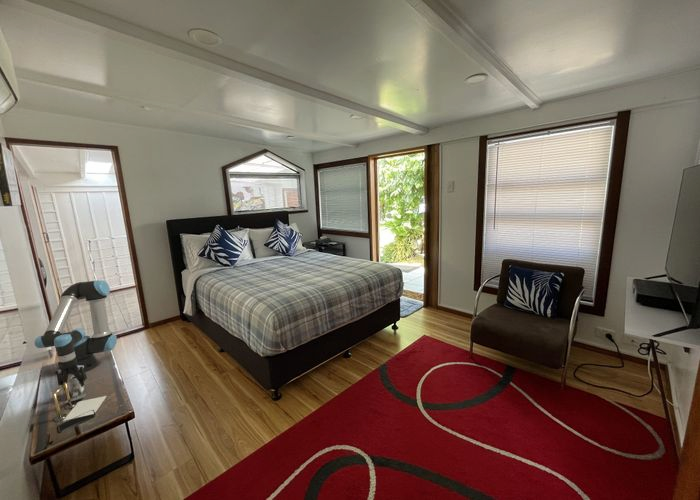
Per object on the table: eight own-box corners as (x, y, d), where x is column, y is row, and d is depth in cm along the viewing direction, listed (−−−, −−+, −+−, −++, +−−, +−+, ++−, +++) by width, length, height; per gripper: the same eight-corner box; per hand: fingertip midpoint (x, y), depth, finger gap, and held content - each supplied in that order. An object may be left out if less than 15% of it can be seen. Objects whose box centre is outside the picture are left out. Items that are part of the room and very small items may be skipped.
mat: (78, 402, 173) (78, 401, 173) (106, 396, 178) (106, 395, 178) (63, 421, 158) (62, 420, 158) (93, 414, 163) (93, 413, 163)
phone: (96, 415, 162) (59, 432, 150) (96, 417, 162) (59, 434, 151) (93, 409, 167) (57, 425, 155) (93, 410, 167) (58, 426, 155)
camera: (84, 371, 185) (80, 384, 173) (88, 387, 187) (84, 400, 175) (66, 376, 180) (60, 389, 168) (70, 392, 182) (65, 406, 170)
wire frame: (68, 404, 172) (62, 381, 169) (78, 402, 174) (72, 379, 170) (52, 422, 158) (45, 397, 155) (63, 420, 160) (57, 395, 156)
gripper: (43, 366, 167) (52, 400, 171) (83, 359, 173) (90, 392, 177) (51, 359, 173) (60, 392, 178) (89, 353, 180) (96, 384, 184)
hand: (75, 392), depth 178 cm, fingers closed on camera, 6 cm apart
